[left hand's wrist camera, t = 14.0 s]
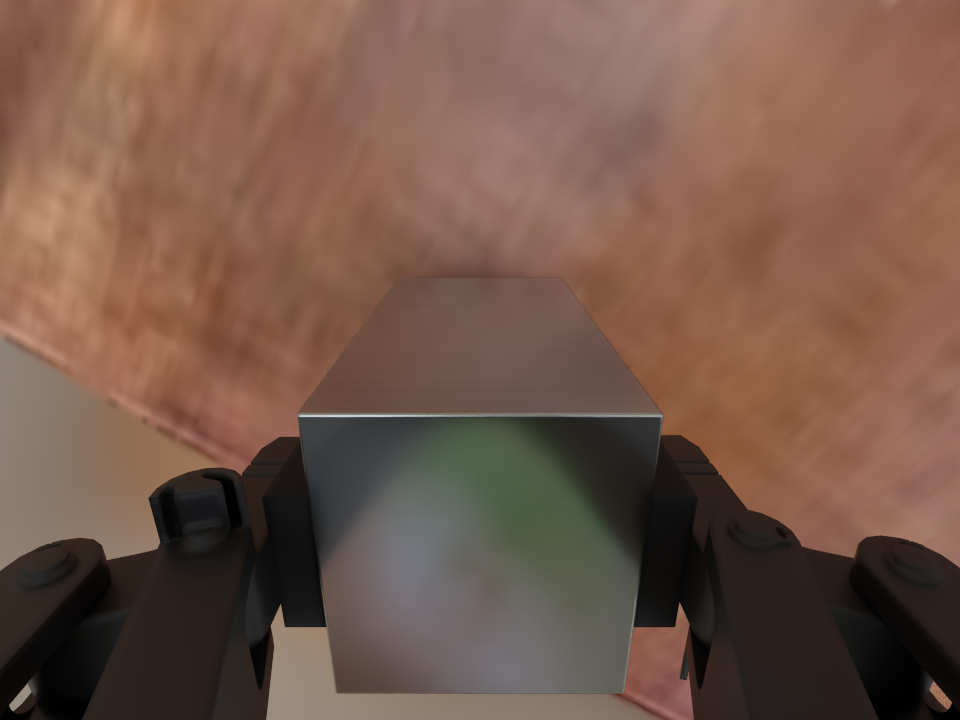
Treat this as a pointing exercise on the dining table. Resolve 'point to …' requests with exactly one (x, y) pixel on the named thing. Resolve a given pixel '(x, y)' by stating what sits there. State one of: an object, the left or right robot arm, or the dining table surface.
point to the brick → (480, 493)
